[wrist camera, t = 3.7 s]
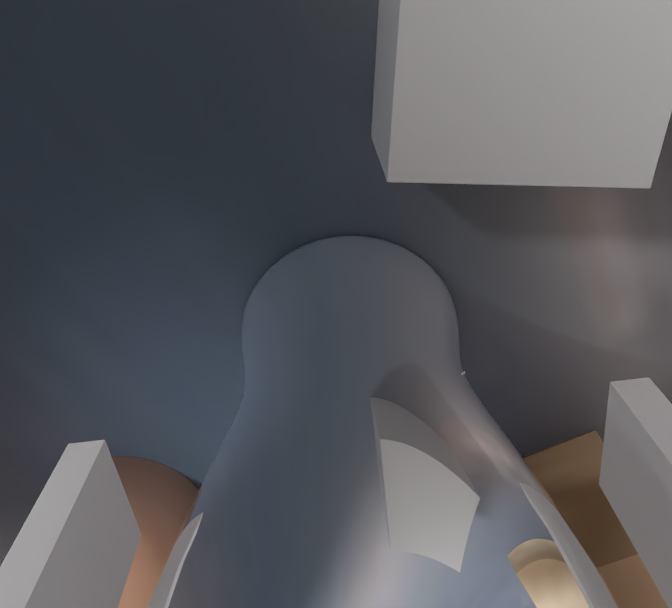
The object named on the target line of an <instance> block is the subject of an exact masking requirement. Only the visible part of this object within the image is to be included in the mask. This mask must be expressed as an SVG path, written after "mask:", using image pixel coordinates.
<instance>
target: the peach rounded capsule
mask: <svg viewBox="0 0 672 608" xmlns="http://www.w3.org/2000/svg"><path fill="white" fill-rule="evenodd" d="M112 459H113V462H114V464H115V467H116V470H117V472H118V475H119V477H120V480H121V482H122V485H123V488H124V490H125V493H126V495H127V498H128V500H129V503H130V506H131V508H132V511H133V513H134V516H135V518H136V521H137V524H138V526H139V529H140V531H141V534H142V535H141V538H140V541H139V544H138V547H137V550H136V553H135V556H134V559H133V562H132V565H131V568H130V571H129V574H128V577H127V580H126V584H125V587H124V590H123V593H122V596H121V599H120V602H119V605H118V608H147V606H148V604H149V601H150V599H151V597H152V594H153V592H154V589H155V587H156V585H157V582H158V580H159V577H160V575H161V573H162V570H163V568H164V566H165V563H166V561H167V558H168V556H169V554H170V551H171V549H172V546H173V544H174V542H175V539H176V537H177V534H178V532H179V530H180V528H181V526H182V524H183V522H184V520H185V518H186V516H187V514H188V512H189V510H190V508H191V506H192V503H193V501H194V499H195V497H196V495H197V493H198V491H199V490H198V489H197V488H196V486H195V485H194V484H193V483H192V482H191V481H190V480H189V479H187V478H186V477H185V476H183V475H182V474H181V473H179V472H177V471H176V470H174V469H172V468H170V467H168V466H166V465H164V464H161V463H158V462H155V461H152V460H147V459H143V458H136V457H112Z"/></svg>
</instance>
